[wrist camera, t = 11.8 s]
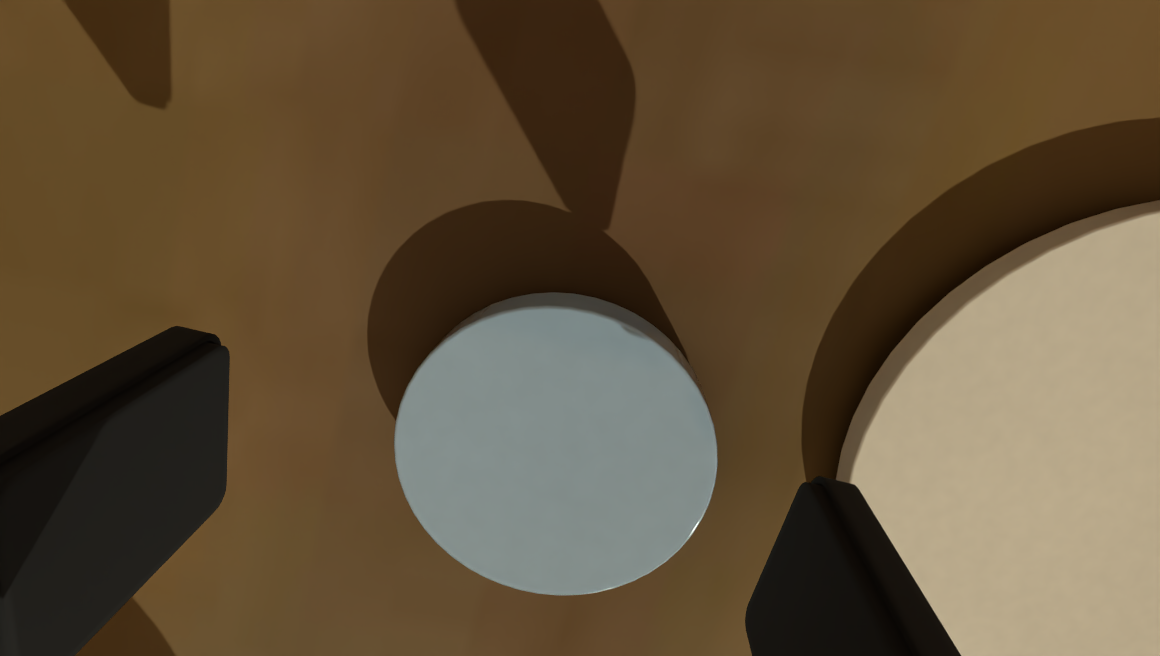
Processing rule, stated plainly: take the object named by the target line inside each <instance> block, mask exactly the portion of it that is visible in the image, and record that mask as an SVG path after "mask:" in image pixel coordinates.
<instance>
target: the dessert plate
mask: <svg viewBox="0 0 1160 656" xmlns="http://www.w3.org/2000/svg"><path fill="white" fill-rule="evenodd" d="M836 480H838V481H842V482H847V483H851V484H854V485H856V486H857V487H858V489H859V490H860V492H861V493H862V495H863V497H864V498H865V500H866V502H867V503H868V505H869V506H870V508H871V510H872V511H873V513H874V515H875V516H876V518H877V519H878V521H879V523H880V524H881V526H882V528H883V529H884V531H885V532H886V534H887V536H888V537H889V539H890V541H891V542H892V544H893V545H894V547H895V549H896V550H897V552H898V554H899V555H900V557H901V558H902V560H903V562H904V563H905V565H906V567H907V568H908V570H909V571H910V573H911V575H912V576H913V578H914V580H915V581H916V583H917V584H918V586H919V588H920V589H921V591H922V593H923V594H924V596H925V597H926V599H927V601H928V602H929V604H930V606H931V607H932V609H933V610H934V612H935V614H936V615H937V617H938V619H939V620H940V622H941V623H942V625H943V627H944V628H945V630H946V632H947V633H948V635H949V636H950V638H951V640H952V641H953V643H954V645H955V646H956V648H957V649H958V651H959V653H960V654H961V656H1160V200H1158V201H1153V202H1148V203H1143V204H1138V205H1133V206H1128V207H1123V208H1118V209H1114V210H1111V211H1108V212H1104V213H1101V214H1098V215H1095V216H1092V217H1089V218H1086V219H1083V220H1079V221H1076V222H1073V223H1070V224H1067V225H1065V226H1063V227H1061V228H1058V229H1056V230H1054V231H1052V232H1049V233H1047V234H1045V235H1043V236H1040V237H1038V238H1036V239H1034V240H1031V241H1029V242H1027V243H1025V244H1023V245H1021V246H1019V247H1018V248H1016V249H1014V250H1013V251H1011V252H1009V253H1007V254H1006V255H1004V256H1002V257H1000V258H999V259H997V260H995V261H994V262H992V263H990V264H988V265H987V266H985V267H984V268H982V269H981V270H979V271H978V272H977V273H975V274H974V275H973V276H971V277H970V278H968V279H967V280H966V281H964V282H963V283H962V284H960V285H959V286H958V287H956V288H955V289H953V290H952V291H951V292H949V293H948V294H947V295H946V296H945V297H944V298H943V299H942V300H941V301H939V302H938V303H937V304H936V305H935V306H934V307H933V308H932V309H931V310H930V311H929V312H927V313H926V314H925V315H924V316H923V317H922V318H921V319H920V320H919V321H918V322H917V323H916V324H915V325H914V326H913V327H912V329H911V330H910V331H909V332H908V333H907V334H906V335H905V337H904V338H903V339H902V340H901V341H900V342H899V344H898V345H897V346H896V347H895V348H894V349H893V350H892V352H891V353H890V354H889V356H888V357H887V359H886V360H885V362H884V363H883V365H882V366H881V368H880V369H879V371H878V372H877V374H876V375H875V377H874V378H873V379H872V381H871V382H870V384H869V386H868V388H867V390H866V392H865V394H864V396H863V398H862V400H861V402H860V404H859V406H858V408H857V410H856V412H855V414H854V416H853V418H852V421H851V423H850V426H849V429H848V432H847V435H846V438H845V441H844V444H843V447H842V450H841V455H840V460H839V466H838V471H837V476H836Z"/></svg>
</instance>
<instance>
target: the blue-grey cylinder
mask: <svg viewBox="0 0 1160 656" xmlns="http://www.w3.org/2000/svg"><path fill="white" fill-rule="evenodd" d="M394 448H395V461H396V466H397V471H398V476H399V480H400V483H401V486H402V489H403V492H404V494H405V497H406V499H407V501H408V503H409V505H410V507H411V509H412V511H413V513H414V514H415V516H416V517H417V519H418V520H419V522H420V523H421V525H422V526H423V528H424V529H425V530H426V531H427V532H428V534H429V535H430V536H431V537H432V538H433V539H434V540H435V542H436V543H437V544H438V545H440V546H441V547H442V548H443V549H444V550H445V551H446V552H447V553H448V554H449V555H450V556H452V557H453V558H455V559H456V560H457V561H459V562H460V563H462V564H463V565H464V566H466V567H467V568H469V569H471V570H473V571H474V572H476V573H478V574H480V575H481V576H483V577H486V578H488V579H490V580H493V581H495V582H497V583H500V584H502V585H505V586H509V587H512V588H515V589H518V590H523V591H528V592H533V593H538V594H549V595H581V594H588V593H596V592H600V591H604V590H608V589H612V588H616V587H619V586H622V585H624V584H627V583H630V582H632V581H634V580H636V579H638V578H640V577H642V576H644V575H646V574H648V573H650V572H651V571H653V570H654V569H656V568H657V567H659V566H660V565H662V564H663V563H665V562H666V561H667V560H668V559H669V558H670V557H672V556H673V555H674V554H675V553H676V552H677V551H678V550H679V549H680V548H681V547H682V546H683V545H684V544H685V542H686V541H687V540H688V539H689V538H690V536H691V535H692V534H693V532H694V531H695V529H696V528H697V526H698V524H699V523H700V521H701V520H702V518H703V516H704V514H705V511H706V509H707V507H708V505H709V502H710V500H711V496H712V493H713V489H714V485H715V481H716V473H717V465H718V459H717V441H716V435H715V429H714V424H713V421H712V418H711V414H710V411H709V408H708V404H707V401H706V398H705V395H704V392H703V389H702V386H701V384H700V382H699V380H698V378H697V376H696V374H695V372H694V370H693V369H692V367H691V366H690V364H689V363H688V361H687V360H686V358H685V357H684V355H683V354H682V353H681V351H680V350H679V349H678V348H677V347H676V346H675V345H674V344H673V343H672V342H671V340H670V339H669V338H668V337H667V336H665V335H664V334H663V333H662V332H661V331H659V330H658V329H657V328H656V327H655V326H653V325H652V324H651V323H649V322H648V321H646V320H644V319H643V318H641V317H640V316H638V315H637V314H635V313H633V312H631V311H629V310H627V309H625V308H623V307H620V306H618V305H616V304H613V303H610V302H607V301H604V300H601V299H598V298H595V297H589V296H584V295H579V294H573V293H556V292H550V293H535V294H528V295H523V296H518V297H513V298H509V299H506V300H503V301H501V302H498V303H495V304H492V305H490V306H488V307H486V308H484V309H482V310H480V311H478V312H476V313H474V314H472V315H471V316H469V317H468V318H467V319H465V320H464V321H462V322H461V323H459V324H458V325H457V326H456V327H455V328H453V329H452V330H451V331H450V332H449V333H448V334H447V335H446V336H445V337H444V338H443V339H442V340H441V341H440V342H439V343H438V345H437V346H436V347H435V348H434V349H433V350H432V351H431V352H430V354H429V355H428V356H427V357H426V358H425V360H424V361H423V362H422V363H421V365H420V366H419V367H418V368H417V370H416V372H415V373H414V375H413V377H412V378H411V380H410V382H409V383H408V385H407V387H406V390H405V392H404V395H403V397H402V400H401V402H400V406H399V410H398V414H397V418H396V424H395V435H394Z"/></svg>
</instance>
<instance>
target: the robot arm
mask: <svg viewBox="0 0 1160 656" xmlns="http://www.w3.org/2000/svg"><path fill="white" fill-rule="evenodd" d="M229 361H230V357H229V351H228V349H227V348H226V347H225V346H221V342H220V340H219V338H218V337H217V336H216V335H214V334H210V333H206V332H202V331H197V330H193V329H189V328H185V327H180V326H175V327H171V328H169V329H167V330H165V331H163V332H162V333H160V334H158V335H156V336H154V337H152V338H150V339H148V340H146V341H144V342H142V343H140V344H138V345H136V346H134V347H133V348H131V349H129V350H127V351H125V352H123V353H121V354H119V355H117V356H115V357H113V358H111V359H109V360H107V361H105V362H104V363H102V364H100V365H98V366H96V367H94V368H92V369H90V370H88V371H86V372H84V373H82V374H80V375H78V376H76V377H75V378H73V379H71V380H69V381H67V382H65V383H63V384H61V385H59V386H57V387H55V388H53V389H51V390H49V391H47V392H46V393H44V394H42V395H40V396H38V397H36V398H34V399H32V400H30V401H28V402H26V403H24V404H22V405H20V406H19V407H17V408H15V409H13V410H11V411H9V412H7V413H5V414H3V415H1V416H0V656H75V655H76V654H77V653H78V652H79V651H80V649H81V648H82V647H83V646H84V645H85V644H86V643H87V642H88V641H89V640H90V639H91V638H92V637H93V636H94V635H95V634H96V633H97V632H98V631H99V630H100V629H101V628H102V627H103V626H104V625H105V624H106V623H107V622H108V621H109V620H110V619H111V618H112V617H113V615H114V614H115V613H116V612H117V611H118V610H119V609H120V608H121V607H122V606H123V605H124V604H125V603H126V602H127V601H128V600H129V599H130V598H131V597H132V596H133V595H134V594H135V593H136V592H137V591H138V590H139V589H140V588H141V587H142V586H143V585H144V584H145V583H146V582H147V580H148V579H149V578H150V577H151V576H152V575H153V574H154V573H155V572H156V571H157V570H158V569H159V568H160V567H161V566H162V565H163V564H164V563H165V562H166V561H167V560H168V559H169V558H170V557H171V556H172V555H173V554H174V553H175V552H176V551H177V550H178V549H179V548H180V546H181V545H182V544H183V543H184V542H185V541H186V540H187V539H188V538H189V537H190V536H191V535H192V534H193V533H194V532H195V531H196V530H197V529H198V528H199V527H200V526H201V525H202V524H203V523H204V522H205V521H206V520H207V519H208V518H209V517H210V516H211V515H212V514H213V513H214V511H215V510H216V509H217V508H218V507H219V505H220V503H221V502H222V499H223V497H224V494H225V491H226V482H227V441H228V401H229ZM745 626H746V632H747V636H748V640H749V644H750V648H751V653H752V656H961V654H960V653H959V651H958V649H957V648H956V646H955V645H954V643H953V641H952V640H951V638H950V636H949V635H948V633H947V632H946V630H945V628H944V627H943V625H942V623H941V622H940V620H939V619H938V617H937V615H936V614H935V612H934V610H933V609H932V607H931V606H930V604H929V602H928V601H927V599H926V597H925V596H924V594H923V593H922V591H921V589H920V588H919V586H918V584H917V583H916V581H915V580H914V578H913V576H912V575H911V573H910V571H909V570H908V568H907V567H906V565H905V563H904V562H903V560H902V558H901V557H900V555H899V554H898V552H897V550H896V549H895V547H894V545H893V544H892V542H891V541H890V539H889V537H888V536H887V534H886V532H885V531H884V529H883V528H882V526H881V524H880V523H879V521H878V519H877V518H876V516H875V515H874V513H873V511H872V510H871V508H870V506H869V505H868V503H867V502H866V500H865V498H864V497H863V495H862V493H861V492H860V490H859V489H858V487H857V486H856V485H854V484H851V483H847V482H842V481H838V480H834V479H830V478H825V477H821V476H818V477H816V478H815V479H814V480H813V481H812V482H811V483H808V482H805V483H803V484H802V485H801V486H800V487H799V489H798V491H797V493H796V496H795V498H794V500H793V503H792V505H791V507H790V510H789V512H788V514H787V516H786V519H785V521H784V523H783V526H782V528H781V530H780V532H779V535H778V537H777V539H776V542H775V544H774V546H773V549H772V551H771V553H770V555H769V558H768V560H767V562H766V565H765V567H764V569H763V571H762V574H761V576H760V578H759V581H758V583H757V585H756V588H755V590H754V592H753V594H752V597H751V599H750V601H749V604H748V607H747V611H746V618H745Z"/></svg>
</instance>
